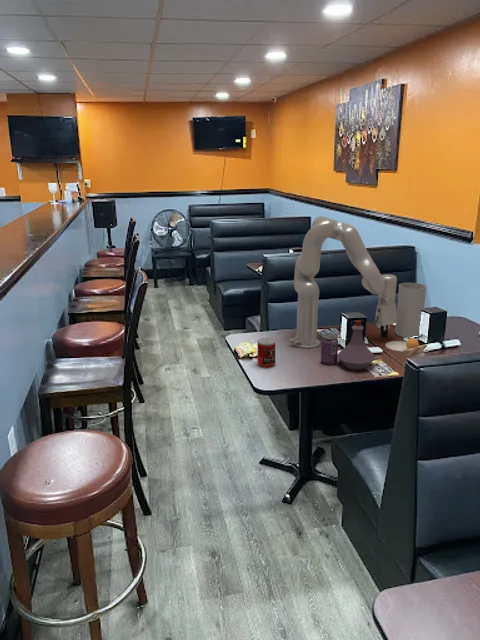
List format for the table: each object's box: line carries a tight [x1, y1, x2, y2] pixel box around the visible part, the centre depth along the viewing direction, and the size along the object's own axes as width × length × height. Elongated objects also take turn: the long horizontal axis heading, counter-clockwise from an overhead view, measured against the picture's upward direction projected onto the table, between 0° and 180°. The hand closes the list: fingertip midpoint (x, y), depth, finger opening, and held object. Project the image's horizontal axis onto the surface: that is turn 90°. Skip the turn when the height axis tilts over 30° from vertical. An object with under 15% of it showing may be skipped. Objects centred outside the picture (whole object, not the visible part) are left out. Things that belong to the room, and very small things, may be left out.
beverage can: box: [320, 333, 339, 365], centre depth 215 cm, size 7×7×12 cm
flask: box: [337, 319, 376, 371], centre depth 210 cm, size 16×16×20 cm
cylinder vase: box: [394, 282, 427, 339], centre depth 245 cm, size 12×12×25 cm
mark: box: [385, 340, 408, 353], centre depth 234 cm, size 13×13×1 cm
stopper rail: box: [402, 343, 428, 358], centre depth 225 cm, size 14×2×2 cm, turn 121°
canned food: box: [257, 337, 276, 369], centre depth 214 cm, size 8×8×11 cm
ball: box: [405, 338, 420, 349], centre depth 229 cm, size 6×6×6 cm
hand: (384, 337), depth 241 cm, fingers closed
